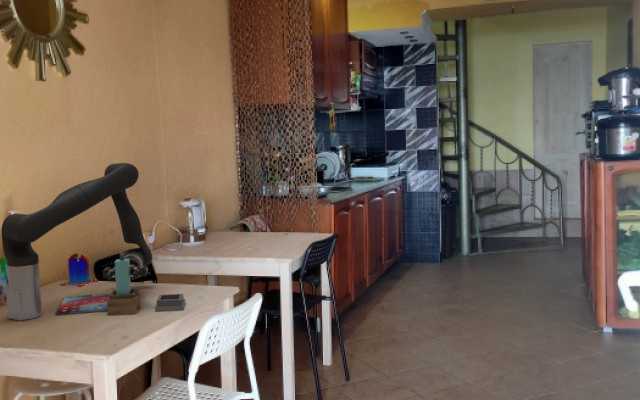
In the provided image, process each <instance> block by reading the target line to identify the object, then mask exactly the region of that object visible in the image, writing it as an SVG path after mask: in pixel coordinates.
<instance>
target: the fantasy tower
mask: <svg viewBox="0 0 640 400" xmlns="http://www.w3.org/2000/svg"><path fill="white" fill-rule="evenodd" d="M67 261H68V262H67V263H68V264H67V269H68V279H69V280H68V281H67V282H65V281H64V282H61V283H60V284H59V286H60V287H66V286H68V287H77V286H78V287H77V288H83V287H82V286H85V284H88V285H90V284H89V283H91V284H93V283H97V282H99V280H98V279H97V278H93V279H92V280H91V279H90V269H89V266H90V261H89V258H87V256H86V255H84V254H80V257H79V253H73V254H72V255H70V257H68V259H67Z"/></svg>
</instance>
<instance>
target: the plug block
mask: <svg viewBox="0 0 640 400" xmlns="http://www.w3.org/2000/svg"><path fill="white" fill-rule="evenodd" d="M114 267H115V277H116V278H115V290H116V295H126V294H131V289H132V286H131V280H132V279H130V259H124V252H119V259H116V260H115V261H114Z"/></svg>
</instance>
